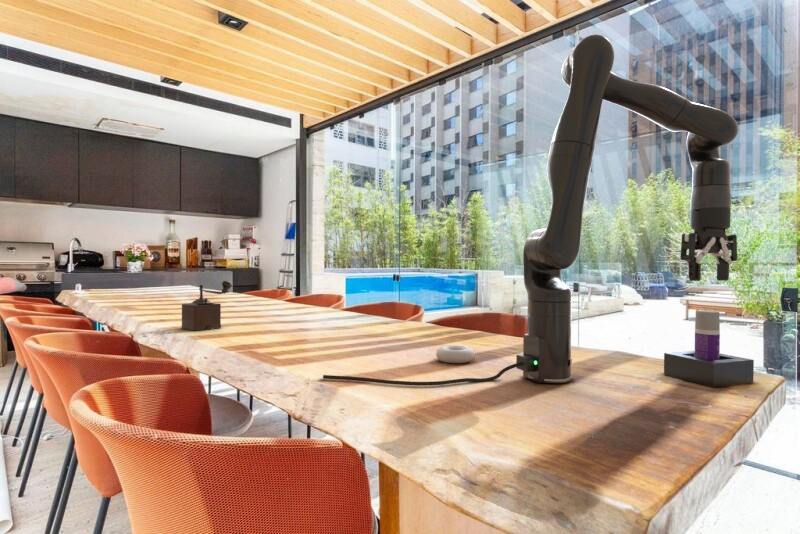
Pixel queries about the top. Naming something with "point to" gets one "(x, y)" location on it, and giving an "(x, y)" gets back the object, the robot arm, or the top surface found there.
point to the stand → (709, 369)
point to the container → (707, 335)
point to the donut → (455, 354)
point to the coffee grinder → (203, 311)
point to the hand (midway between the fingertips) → (708, 280)
